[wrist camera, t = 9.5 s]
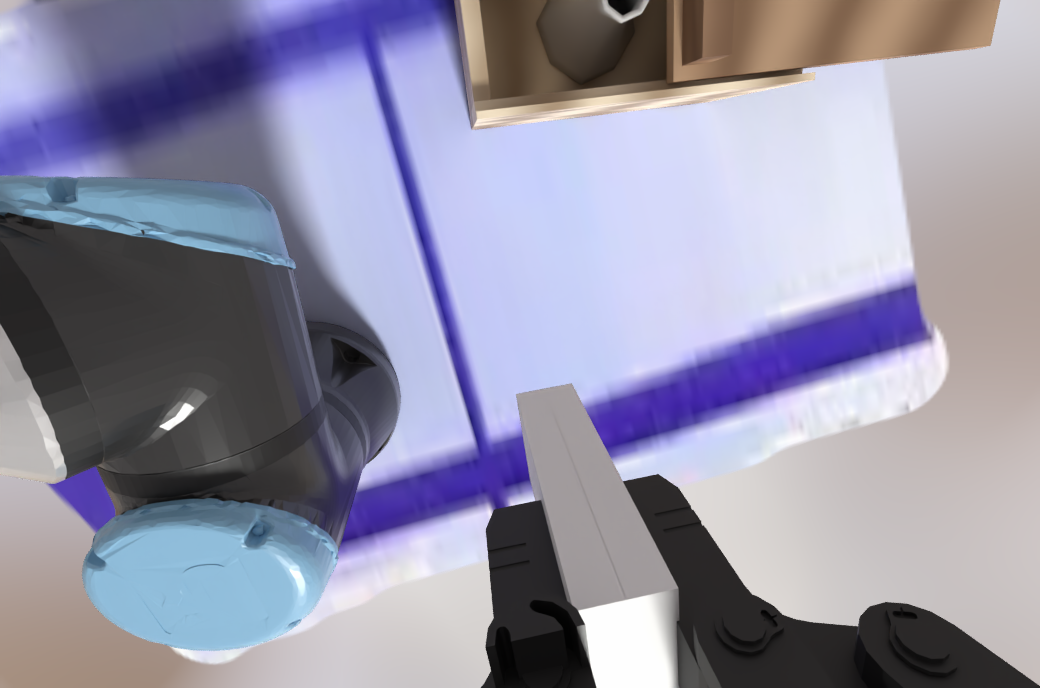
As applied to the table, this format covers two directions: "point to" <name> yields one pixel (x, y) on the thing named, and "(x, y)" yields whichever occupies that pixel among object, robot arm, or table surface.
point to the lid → (815, 33)
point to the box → (553, 95)
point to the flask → (587, 34)
